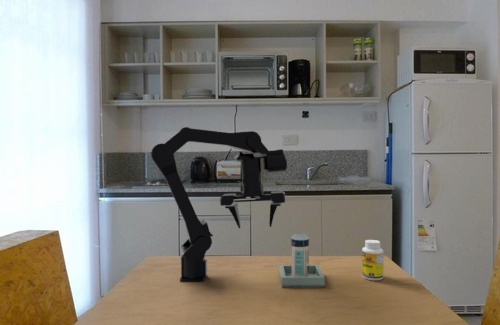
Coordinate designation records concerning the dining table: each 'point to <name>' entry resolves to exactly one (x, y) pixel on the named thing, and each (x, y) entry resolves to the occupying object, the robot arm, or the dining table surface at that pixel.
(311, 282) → the dish
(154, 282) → the dining table surface
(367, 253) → the supplement bottle
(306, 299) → the dining table surface
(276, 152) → the robot arm
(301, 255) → the beer can
